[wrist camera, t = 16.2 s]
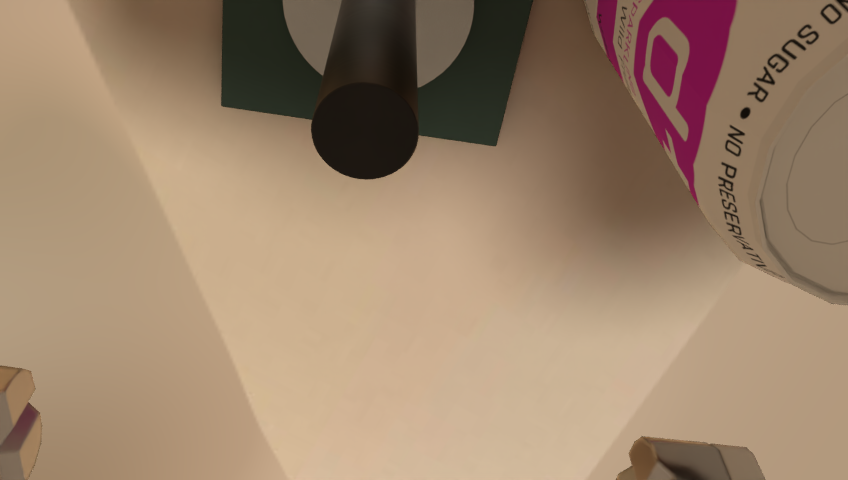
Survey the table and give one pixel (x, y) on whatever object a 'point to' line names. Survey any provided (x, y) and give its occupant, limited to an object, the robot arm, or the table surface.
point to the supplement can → (748, 120)
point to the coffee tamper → (374, 73)
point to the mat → (437, 100)
